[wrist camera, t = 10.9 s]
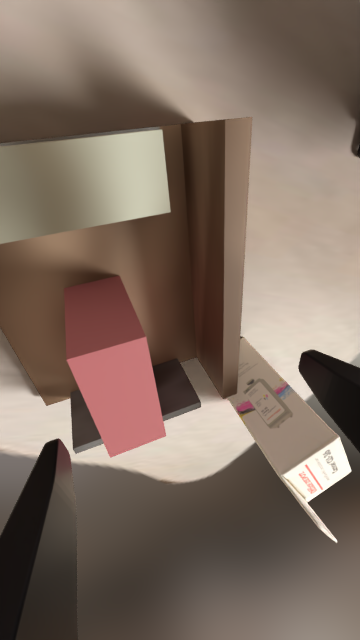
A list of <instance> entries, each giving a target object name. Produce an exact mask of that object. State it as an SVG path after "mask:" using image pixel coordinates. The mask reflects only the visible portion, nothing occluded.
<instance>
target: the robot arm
mask: <svg viewBox="0 0 360 640" xmlns="http://www.w3.org/2000/svg"><path fill="white" fill-rule="evenodd" d="M358 157H359V158H360V145H359V149H358ZM299 372H300V374H301V375H302V377H303V378H304V380H305V381H306V383H307V384H308V386H309V387H310V389H311V390H312V392H313V393H314V395H315V396H316V398H317V399H318V401H319V402H320V404H321V405H322V407H323V408H324V409H325V410H326V411H327V413H328V414H329V415H330V417H331V418H332V419H333V420H334V422H335V423H336V424H337V425H338V427H339V428H340V429H341V430H342V432H343V433H344V434H345V435H346V436H347V438H348V439H349V440H350V441H351V443H352V444H353V445H354V446H355V448H356V449H357V450H358V451H359V453H360V368H359V367H356V366H353V365H351V364H349V363H346V362H344V361H341V360H339V359H336V358H334V357H331V356H329V355H326V354H323V353H321V352H318V351H316V350H308V351H305V352H303V353H302V354H301V358H300V362H299ZM76 516H77V515H76V500H75V492H74V485H73V477H72V468H71V459H70V455H69V452H68V450H67V449H66V447H65V445H64V444H63V442H62V441H61V440H60V439H55V440H52V441H49V442H47V443H46V444H45V445H44V447H43V449H42V451H41V453H40V455H39V457H38V459H37V461H36V463H35V465H34V467H33V469H32V471H31V473H30V475H29V478H28V480H27V482H26V484H25V486H24V488H23V490H22V492H21V494H20V496H19V498H18V500H17V502H16V504H15V506H14V508H13V510H12V513H11V514H10V517H9V519H8V521H7V523H6V525H5V527H4V529H3V531H2V533H1V535H0V640H78V615H77V614H78V612H77V611H78V610H77V517H76Z"/></svg>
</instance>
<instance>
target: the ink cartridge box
mask: <svg viewBox="0 0 360 640" xmlns="http://www.w3.org/2000/svg"><path fill="white" fill-rule="evenodd" d="M227 398H228V400H229V401H230V403H231V404H232V406H233V407H234V409H235V411H236V412H237V414H238V415H239V417H240V418H241V420H242V421H243V423H244V424H245V426H246V427H247V429H248V431H249V432H250V434H251V435H252V437H253V438H254V440H255V441H256V443H257V444H258V446H259V447H260V449H261V450H262V452H263V453H264V455H265V456H266V458H267V460H268V461H269V463H270V464H271V465H272V467H273V469H274V470H275V472H276V473H277V474H278V476H279V477H280V479H281V480H282V481H283V482H284V484H285V485H286V486H287V488H288V489H289V490H290V491H291V493H292V494H293V495H294V497H295V498H296V499H297V500H298V502H299V503H300V505H301V506H302V507H303V509H304V510H305V511H306V512H307V514H308V515H309V516H310V518H311V519H312V520H313V521H314V523H315V524H316V525H317V526H318V528H319V529H320V530H322V531H323V532H324V533H325V534H326V535H327V536H328V537H330V538H331V539H332V540H333V541H335V542H336V543H337V540H336V539H335V537H334V536H333V535H332V533H331V532H330V531H329V530H328V529H327V527H326V526H325V525H324V524H323V523H322V521H321V520H320V519H319V517H318V516H317V515H316V514H315V512H314V511H313V510H312V508H311V507H310V506H309V505H308V503H307V502H308V501H310V500H311V499H313V498H314V497H315V496H317V495H318V494H320V493H321V492H323V491H324V490H326V489H327V488H328V487H330V486H331V485H333V484H334V483H336V482H337V481H338V480H340V479H341V478H343V477H344V476H346V475H347V474H348V473H350V472H351V468H350V465H349V462H348V460H347V457H346V454H345V451H344V448H343V445H342V443H341V441H340V437H339V436H338V435H337V434H336V433H335V432H333V430H332V429H331V428H330V427H329V426H328V425H327V424H326V423H325V422H324V421H323V420H322V419H321V418H320V417H319V416H318V415H317V414H316V413H315V412H314V411H313V410H312V409H311V408H310V407H309V405H308V404H307V403H306V402H305V401H304V400H303V399H302V398H301V397H300V396H299V395H298V394H297V393H296V392H295V391H294V390H293V389H292V388H291V387H290V386H289V385H288V384H287V382H286V381H285V380H284V379H283V378H282V377H281V376H280V375H279V374H278V373H277V372H276V371H275V370H274V369H273V368H272V367H271V366H270V365H269V364H268V362H267V361H266V360H265V359H264V358H263V357H262V356H261V355H260V354H259V353H258V352H257V351H256V350H255V349H254V348H253V347H252V346H251V345H250V343H249V342H248V341H247V340H246V339H245V338H244V337H243V338H241V339H240V350H239V368H238V386H237V394H235V395H232V396H230V397H227Z"/></svg>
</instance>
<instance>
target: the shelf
mask: <svg viewBox="0 0 360 640" xmlns="http://www.w3.org/2000/svg"><path fill="white" fill-rule="evenodd" d="M251 131H252V117H246V118H236V119H225V120H215V121H205V122H195V123H185V124H176V125H167V126H157V127H148V128H138V129H129V130H120V131H110V132H101V133H92V134H82V135H73V136H64V137H54V138H45V139H36V140H26V141H17V142H7V143H0V328H1V329H2V331H3V333H4V334H5V336H6V338H7V340H8V341H9V343H10V345H11V346H12V348H13V350H14V351H15V353H16V355H17V357H18V358H19V360H20V362H21V363H22V365H23V367H24V368H25V370H26V372H27V373H28V375H29V377H30V379H31V380H32V382H33V384H34V385H35V387H36V389H37V390H38V392H39V394H40V396H41V397H42V399H43V401H44V402H45V404H46V406H48V405H51V404H54V403H57V402H60V401H63V400H66V399H69V398H71V417H72V439H73V450H74V452H75V453H76V454H77V453H79V452H82V451H85V450H87V449H90V448H93V447H95V446H98V445H101V444H104V442H103V440H102V438H101V436H100V433H99V431H98V429H97V427H96V425H95V422H94V420H93V418H92V416H91V413H90V411H89V409H88V407H87V404H86V402H85V400H84V398H83V396H82V393H81V391H80V389H79V387H78V384H77V382H76V380H75V378H74V375H73V373H72V371H71V369H70V367H69V364H68V362H67V360H66V331H65V303H64V288H67V287H71V286H76V285H80V284H84V283H89V282H93V281H97V280H102V279H106V278H110V277H115V276H119V275H120V278H121V280H122V282H123V285H124V287H125V289H126V292H127V294H128V296H129V298H130V301H131V303H132V305H133V308H134V310H135V312H136V315H137V317H138V319H139V321H140V324H141V326H142V328H143V331H144V333H145V335H146V338H147V343H148V348H149V353H150V358H151V363H152V368H153V373H154V378H155V383H156V388H157V393H158V398H159V403H160V408H161V413H162V418H163V421H165V420H168V419H171V418H173V417H176V416H179V415H181V414H184V413H187V412H189V411H192V410H195V409H197V408H200V407H201V402H200V400H199V398H198V396H197V394H196V392H195V390H194V389H193V387H192V385H191V383H190V381H189V379H188V377H187V375H186V374H185V372H184V370H183V368H182V366H181V364H180V362H183V361H186V360H189V359H192V358H196V357H197V358H198V360H199V361H200V363H201V365H202V366H203V368H204V369H205V371H206V373H207V374H208V376H209V377H210V379H211V381H212V382H213V384H214V385H215V387H216V389H217V390H218V392H219V393H220V395H221V397H222V398H223V399H224V398H227V397H230V396H232V395H235V394H237V386H238V368H239V350H240V331H241V313H242V295H243V277H244V259H245V240H246V222H247V204H248V186H249V167H250V149H251Z"/></svg>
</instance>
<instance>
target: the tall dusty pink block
mask: <svg viewBox="0 0 360 640" xmlns="http://www.w3.org/2000/svg"><path fill="white" fill-rule="evenodd" d="M64 303H65V331H66V360H67V362H68V364H69V367H70V369H71V371H72V373H73V375H74V378H75V380H76V382H77V384H78V387H79V389H80V391H81V393H82V396H83V398H84V400H85V402H86V404H87V407H88V409H89V411H90V413H91V416H92V418H93V420H94V422H95V425H96V427H97V429H98V431H99V433H100V436H101V438H102V440H103V442H104V445H105V447H106V449H107V451H108V454H109V456H110V457H113V456H116V455H118V454H121V453H123V452H126V451H129V450H131V449H134V448H136V447H139V446H142V445H144V444H147V443H149V442H152V441H154V440H157V439H160V438H162V437H165V436H166V433H165V428H164V423H163V418H162V413H161V408H160V403H159V398H158V393H157V388H156V383H155V378H154V373H153V368H152V363H151V358H150V353H149V348H148V343H147V338H146V335H145V333H144V331H143V328H142V326H141V324H140V321H139V319H138V317H137V315H136V312H135V310H134V308H133V305H132V303H131V301H130V298H129V296H128V294H127V292H126V289H125V287H124V285H123V282H122V280H121V278H120V275H119V276H115V277H110V278H106V279H102V280H97V281H93V282H89V283H84V284H80V285H76V286H71V287H67V288H64Z"/></svg>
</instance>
